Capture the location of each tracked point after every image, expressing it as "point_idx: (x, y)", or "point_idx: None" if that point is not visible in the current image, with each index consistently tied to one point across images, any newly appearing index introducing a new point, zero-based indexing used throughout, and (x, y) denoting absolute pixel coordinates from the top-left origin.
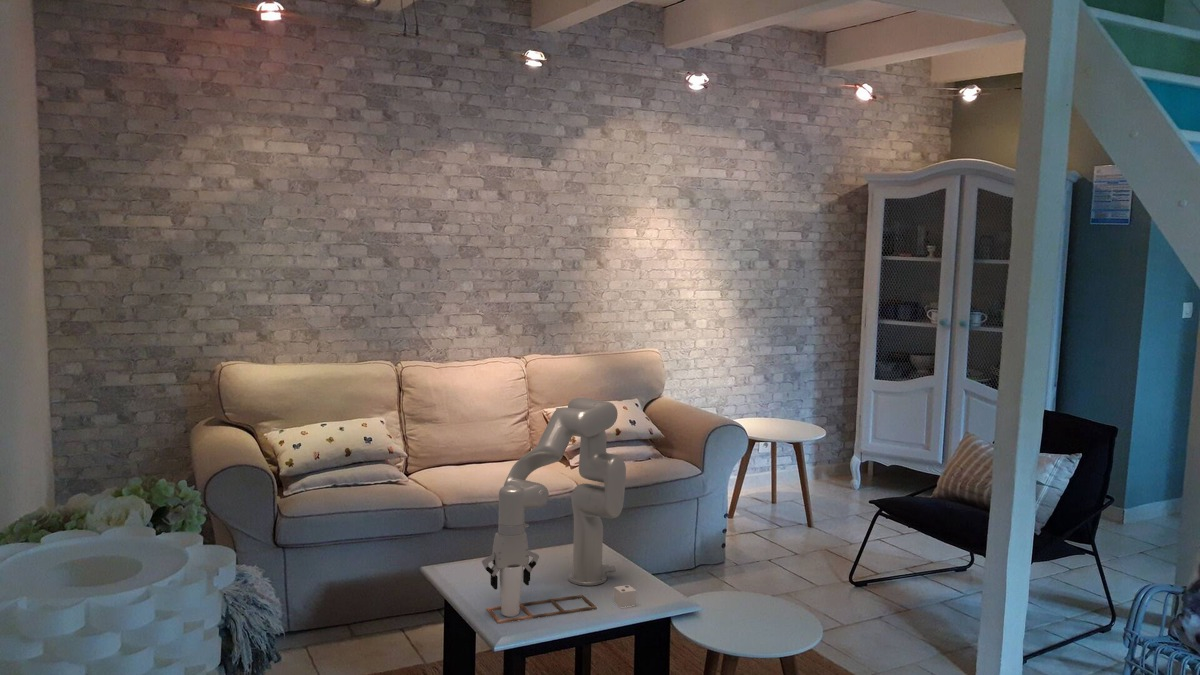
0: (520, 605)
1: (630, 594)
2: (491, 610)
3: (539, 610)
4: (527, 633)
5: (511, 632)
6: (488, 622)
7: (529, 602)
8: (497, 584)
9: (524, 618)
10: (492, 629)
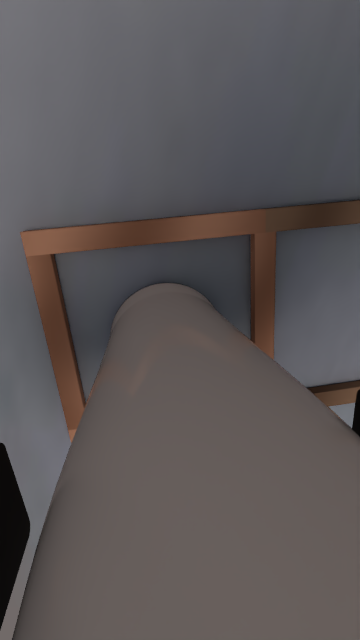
0: (256, 248)
1: None
2: (53, 284)
3: (334, 316)
4: None
5: None
6: (24, 413)
7: (328, 210)
8: (14, 582)
9: None
10: (38, 490)
